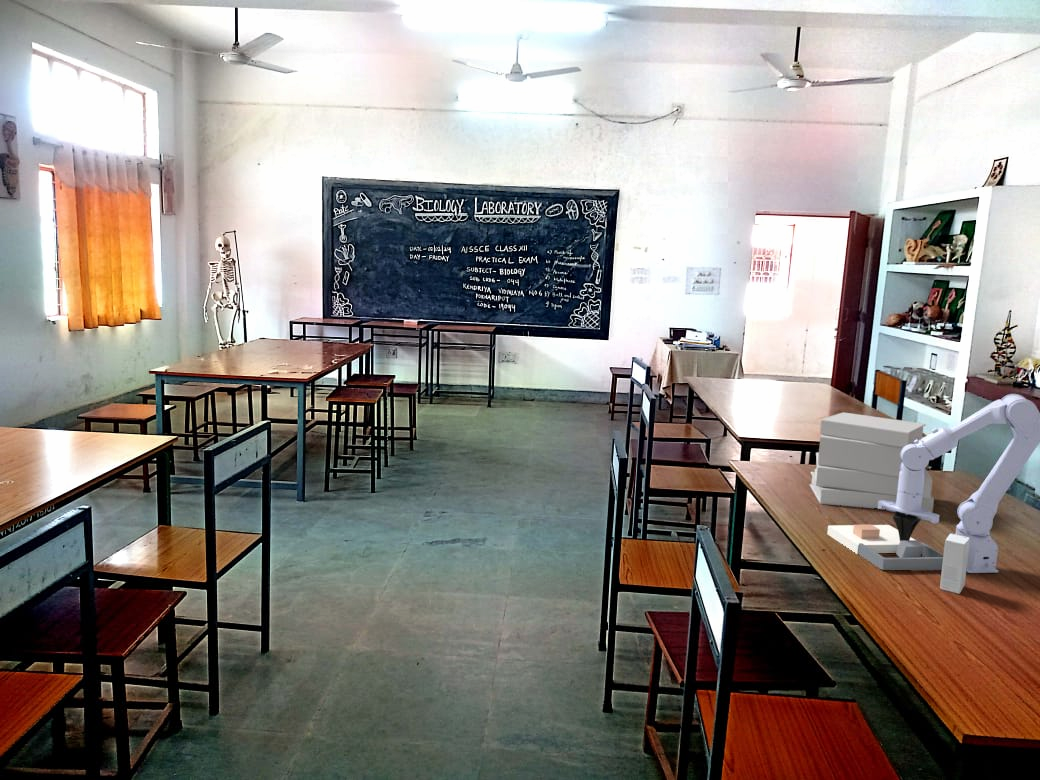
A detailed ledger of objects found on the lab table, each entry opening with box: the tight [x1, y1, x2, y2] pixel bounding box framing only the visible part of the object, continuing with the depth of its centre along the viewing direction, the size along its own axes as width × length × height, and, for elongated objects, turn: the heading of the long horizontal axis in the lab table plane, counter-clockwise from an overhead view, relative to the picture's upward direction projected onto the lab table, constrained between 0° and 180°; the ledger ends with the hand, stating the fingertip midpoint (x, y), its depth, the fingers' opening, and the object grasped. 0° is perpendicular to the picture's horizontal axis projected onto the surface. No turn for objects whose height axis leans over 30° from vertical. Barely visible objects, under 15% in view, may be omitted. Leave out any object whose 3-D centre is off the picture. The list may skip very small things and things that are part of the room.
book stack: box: [809, 411, 935, 513], centre depth 241 cm, size 30×35×26 cm
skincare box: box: [939, 533, 970, 595], centre depth 173 cm, size 6×4×12 cm
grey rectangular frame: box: [857, 541, 944, 571], centre depth 188 cm, size 11×18×3 cm, turn 96°
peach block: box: [853, 524, 880, 539], centre depth 199 cm, size 4×5×2 cm
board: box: [826, 524, 916, 555], centre depth 201 cm, size 15×18×2 cm
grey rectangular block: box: [895, 539, 924, 558], centre depth 191 cm, size 4×5×2 cm
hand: (904, 542), depth 193 cm, fingers closed
